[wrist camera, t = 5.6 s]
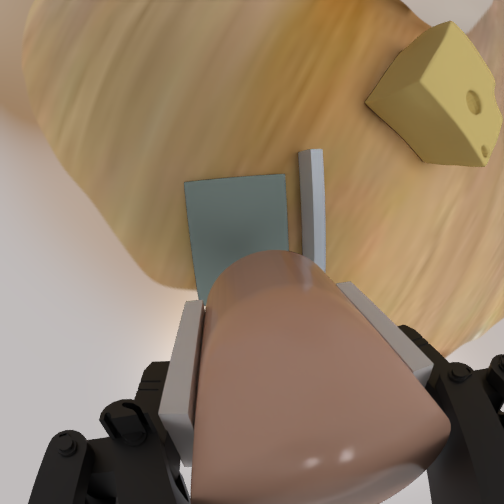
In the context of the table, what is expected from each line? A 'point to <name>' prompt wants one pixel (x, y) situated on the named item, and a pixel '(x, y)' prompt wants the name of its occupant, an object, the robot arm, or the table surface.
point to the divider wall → (313, 205)
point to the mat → (234, 222)
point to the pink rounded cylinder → (303, 394)
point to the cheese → (441, 99)
